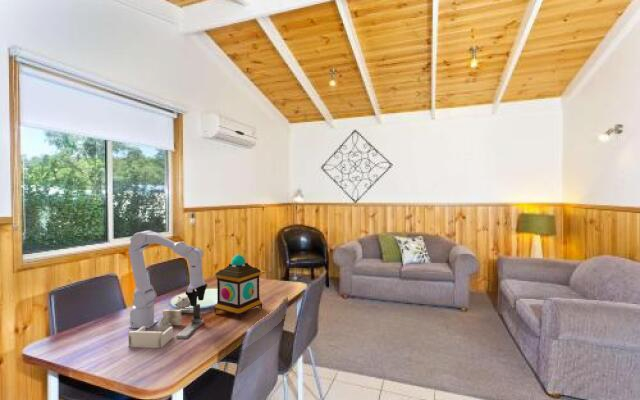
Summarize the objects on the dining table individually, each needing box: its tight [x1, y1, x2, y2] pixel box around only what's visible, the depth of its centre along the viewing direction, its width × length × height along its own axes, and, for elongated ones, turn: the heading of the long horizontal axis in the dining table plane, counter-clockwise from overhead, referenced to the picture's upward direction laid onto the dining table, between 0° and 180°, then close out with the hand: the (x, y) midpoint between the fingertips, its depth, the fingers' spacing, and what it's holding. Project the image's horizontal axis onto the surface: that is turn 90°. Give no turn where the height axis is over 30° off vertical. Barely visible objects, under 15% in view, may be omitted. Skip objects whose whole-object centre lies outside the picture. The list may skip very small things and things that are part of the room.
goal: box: [127, 326, 174, 349], centre depth 129 cm, size 13×9×6 cm
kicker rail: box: [176, 319, 205, 339], centre depth 141 cm, size 4×17×1 cm, turn 177°
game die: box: [174, 296, 191, 310], centre depth 163 cm, size 9×8×10 cm
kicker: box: [162, 303, 203, 326], centre depth 147 cm, size 17×4×9 cm, turn 87°
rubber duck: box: [157, 315, 172, 332], centre depth 139 cm, size 5×7×8 cm
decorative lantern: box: [214, 254, 263, 321], centre depth 162 cm, size 20×20×30 cm
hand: (197, 302), depth 147 cm, fingers open, 7 cm apart
